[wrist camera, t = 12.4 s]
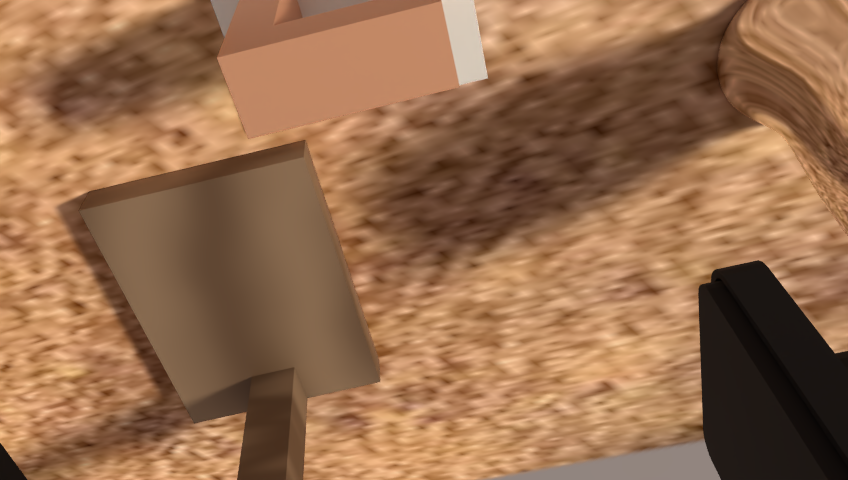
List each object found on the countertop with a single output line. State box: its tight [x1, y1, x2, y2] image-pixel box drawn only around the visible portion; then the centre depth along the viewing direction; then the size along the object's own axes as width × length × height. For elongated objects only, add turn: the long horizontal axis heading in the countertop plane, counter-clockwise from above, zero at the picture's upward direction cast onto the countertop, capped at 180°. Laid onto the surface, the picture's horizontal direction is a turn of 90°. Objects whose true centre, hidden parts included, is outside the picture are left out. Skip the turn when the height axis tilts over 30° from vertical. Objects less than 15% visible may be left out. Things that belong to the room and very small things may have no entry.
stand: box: [79, 140, 380, 480], centre depth 26 cm, size 9×12×22 cm
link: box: [217, 0, 460, 139], centre depth 24 cm, size 6×2×8 cm, turn 103°
